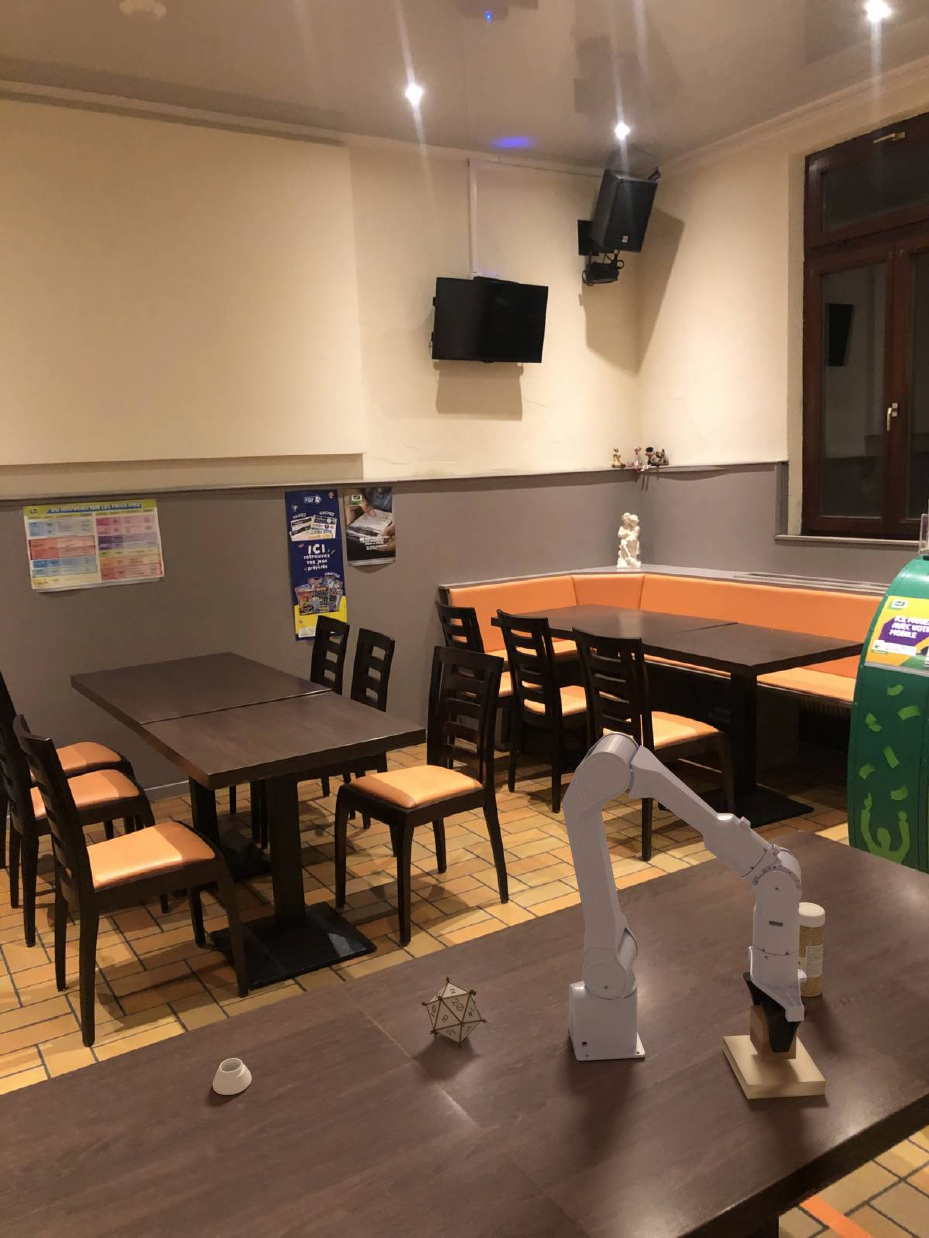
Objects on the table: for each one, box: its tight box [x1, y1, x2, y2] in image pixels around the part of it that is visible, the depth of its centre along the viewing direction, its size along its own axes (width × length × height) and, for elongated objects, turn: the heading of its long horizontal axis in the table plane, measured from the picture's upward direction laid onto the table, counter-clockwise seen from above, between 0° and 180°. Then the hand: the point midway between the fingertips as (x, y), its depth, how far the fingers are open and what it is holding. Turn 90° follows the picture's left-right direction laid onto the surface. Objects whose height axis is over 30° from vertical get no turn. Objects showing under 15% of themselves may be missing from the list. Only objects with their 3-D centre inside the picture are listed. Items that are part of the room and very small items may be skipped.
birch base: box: [722, 1034, 826, 1100], centre depth 123 cm, size 10×10×2 cm
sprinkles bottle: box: [798, 901, 826, 998], centre depth 140 cm, size 5×5×13 cm
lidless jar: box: [212, 1057, 253, 1096], centre depth 124 cm, size 5×3×5 cm
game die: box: [420, 975, 488, 1051], centre depth 132 cm, size 9×8×10 cm
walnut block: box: [749, 1005, 798, 1061], centre depth 123 cm, size 4×4×5 cm
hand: (773, 1038), depth 123 cm, fingers closed on walnut block, 4 cm apart
